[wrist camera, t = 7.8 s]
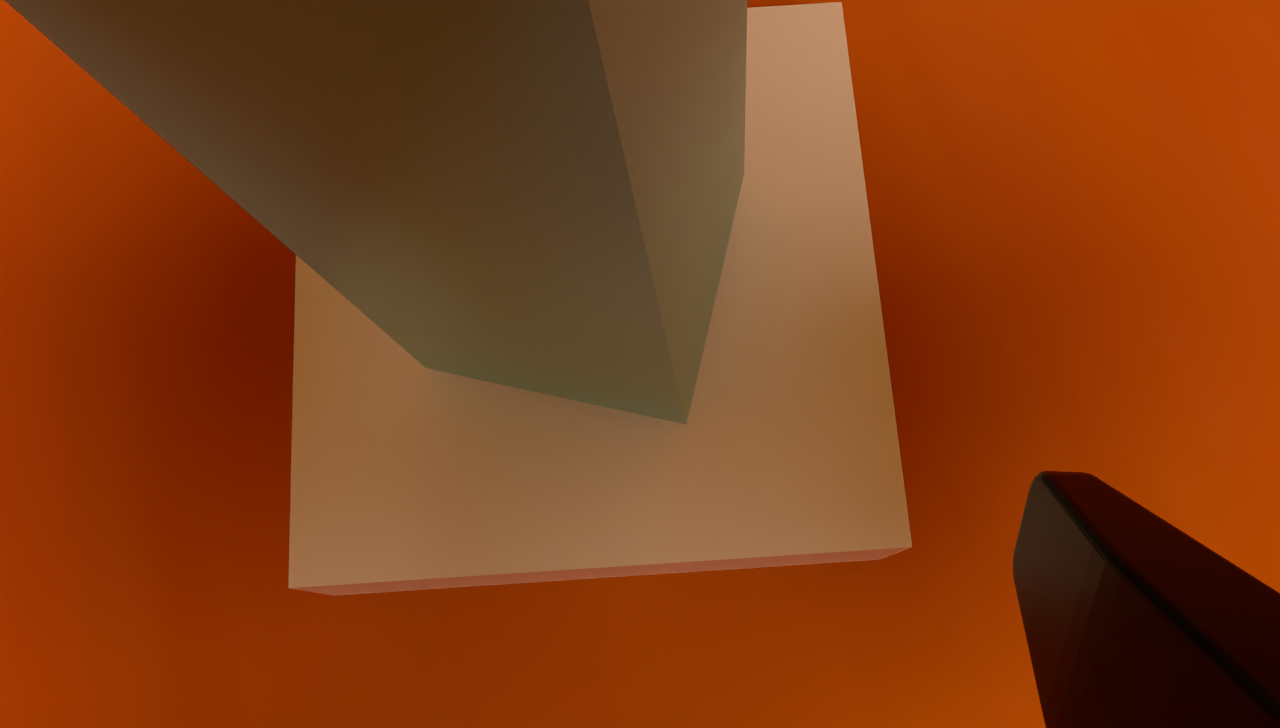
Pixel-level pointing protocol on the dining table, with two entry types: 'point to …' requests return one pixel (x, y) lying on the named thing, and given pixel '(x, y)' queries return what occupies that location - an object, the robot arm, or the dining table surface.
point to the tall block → (465, 165)
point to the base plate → (623, 441)
